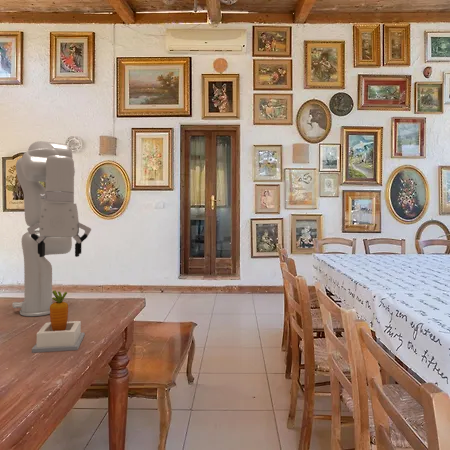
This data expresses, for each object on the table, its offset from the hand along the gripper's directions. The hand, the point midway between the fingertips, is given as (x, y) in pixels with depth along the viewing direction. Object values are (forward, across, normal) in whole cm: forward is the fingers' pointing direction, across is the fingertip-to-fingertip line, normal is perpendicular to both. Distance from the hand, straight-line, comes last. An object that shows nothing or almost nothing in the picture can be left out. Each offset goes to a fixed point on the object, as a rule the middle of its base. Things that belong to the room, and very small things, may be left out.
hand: (59, 256), depth 106 cm
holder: (+26, 0, 0) cm, 26 cm away
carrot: (+25, 0, 0) cm, 25 cm away
